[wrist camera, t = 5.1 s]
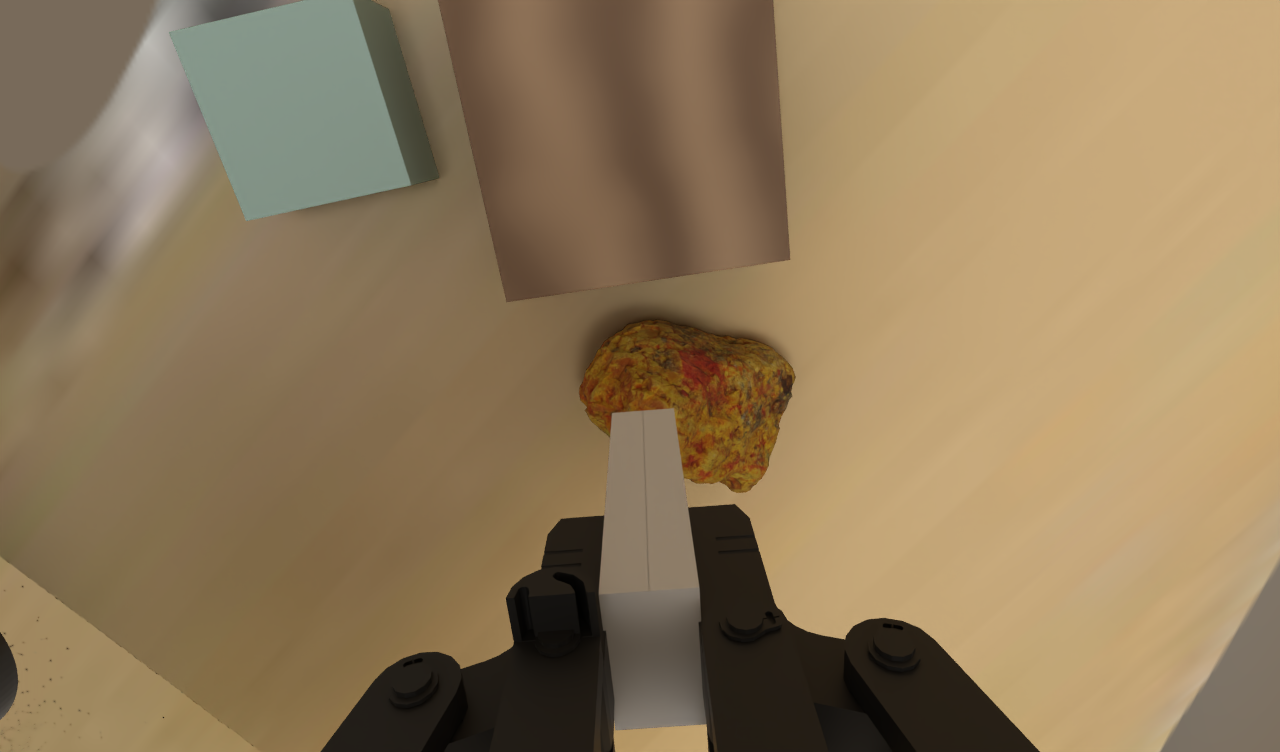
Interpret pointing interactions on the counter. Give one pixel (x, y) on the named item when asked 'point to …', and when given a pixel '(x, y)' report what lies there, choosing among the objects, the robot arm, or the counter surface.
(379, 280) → the counter surface
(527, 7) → the walnut block
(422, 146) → the teal block
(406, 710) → the robot arm
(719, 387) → the rock
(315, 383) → the counter surface
